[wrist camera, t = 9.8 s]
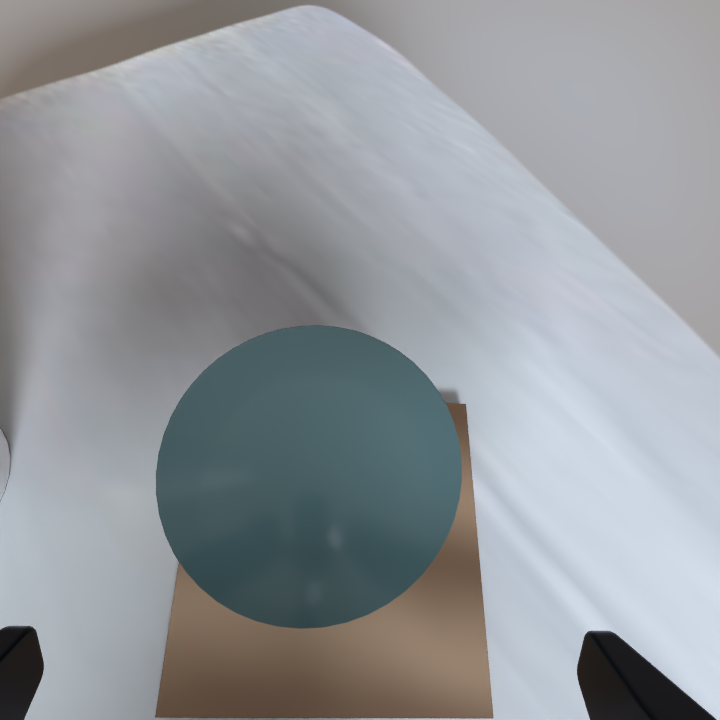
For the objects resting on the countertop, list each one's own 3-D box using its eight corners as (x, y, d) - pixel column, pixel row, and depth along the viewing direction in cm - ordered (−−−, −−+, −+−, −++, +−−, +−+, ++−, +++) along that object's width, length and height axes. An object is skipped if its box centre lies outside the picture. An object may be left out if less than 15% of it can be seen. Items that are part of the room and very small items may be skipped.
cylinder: (328, 645, 19) (296, 716, 7) (241, 540, 20) (95, 452, 9) (422, 542, 20) (523, 461, 9) (334, 452, 22) (320, 279, 10)
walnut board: (487, 713, 19) (493, 718, 18) (162, 712, 18) (154, 717, 18) (461, 409, 24) (465, 403, 23) (208, 404, 23) (204, 398, 23)
